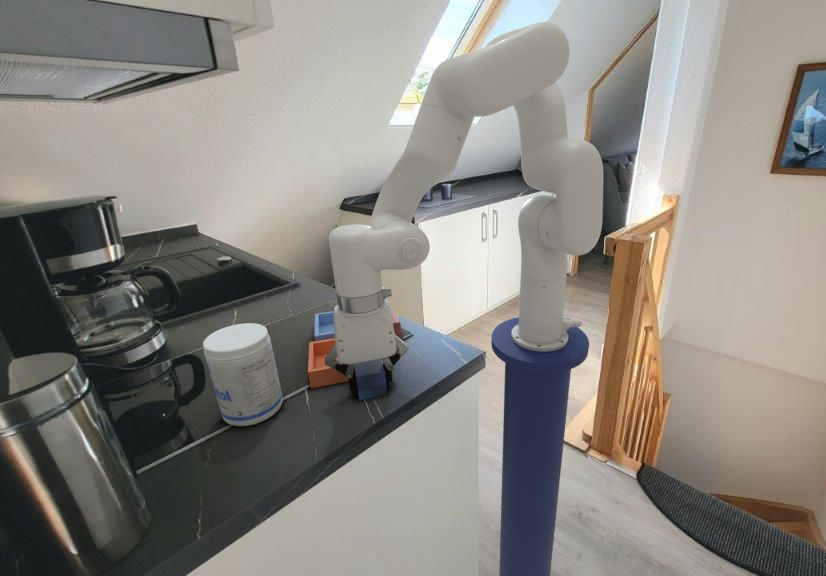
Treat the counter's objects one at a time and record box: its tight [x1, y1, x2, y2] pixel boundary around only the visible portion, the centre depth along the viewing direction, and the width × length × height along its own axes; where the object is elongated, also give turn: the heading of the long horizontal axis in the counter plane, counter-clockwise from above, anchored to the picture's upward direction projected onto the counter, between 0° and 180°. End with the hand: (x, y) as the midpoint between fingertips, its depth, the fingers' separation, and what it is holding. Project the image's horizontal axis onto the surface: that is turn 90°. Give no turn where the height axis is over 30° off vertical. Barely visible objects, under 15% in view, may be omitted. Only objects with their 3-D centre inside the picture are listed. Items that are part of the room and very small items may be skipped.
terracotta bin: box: [307, 338, 355, 389], centre depth 82 cm, size 12×12×4 cm
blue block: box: [355, 358, 388, 401], centre depth 74 cm, size 5×5×5 cm
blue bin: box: [313, 310, 335, 342], centre depth 94 cm, size 12×12×4 cm
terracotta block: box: [391, 312, 403, 341], centre depth 92 cm, size 5×5×5 cm
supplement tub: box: [202, 322, 284, 427], centre depth 67 cm, size 10×10×15 cm
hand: (371, 387), depth 75 cm, fingers closed on blue block, 5 cm apart
